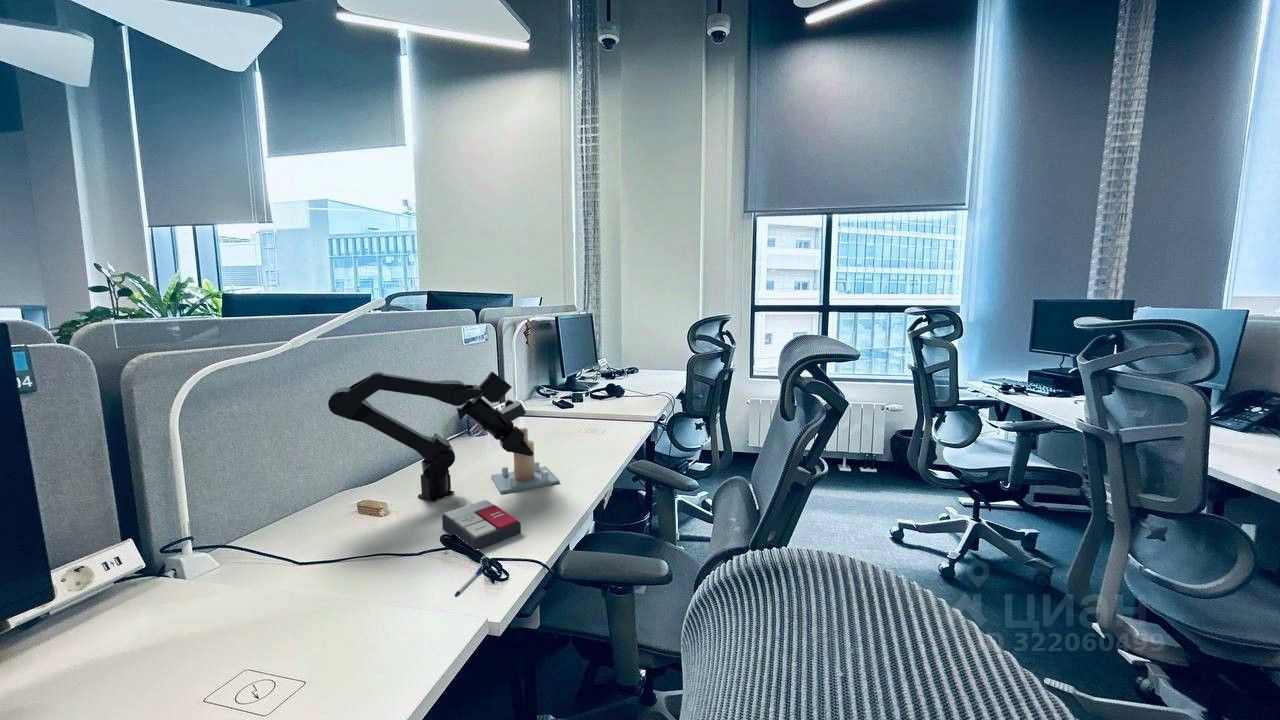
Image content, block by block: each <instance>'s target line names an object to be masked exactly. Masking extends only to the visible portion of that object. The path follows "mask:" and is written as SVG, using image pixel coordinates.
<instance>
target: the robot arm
mask: <svg viewBox="0 0 1280 720" xmlns="http://www.w3.org/2000/svg"><path fill="white" fill-rule="evenodd" d="M512 388H513V387H512V385H510V384H509V383H508V382H507V381H505V379H503V378H502V377H500V376H499V375H497V374H496V373H495V372H494V371H490V372H489V373H488V375H487V376H486V378H485V379H484V380H483V381H482V382H481V383H480V384H479V385H477V384H466V383H464V382H463V381H460V380H458V379H457V380H451V379H450V380H447V379H445V380H428V379H427V380H426V379H420V378H414V377H407V376H402V375H395V374H389V373H384V372H382V371H373V372H372V373H371V374H370V375H368V376H367V377H364V378H363V379H361V380H359V381H357V382H355V383H353V384H351V386H349V387H347V386H345V387H339V388H337V389H336V390H335V391H334V392H332V394H331V395H330V397H329V400H328V403H327V406H328V409H329V412H330V413H332V414H333V415H336V416H338V417H341V418H344V419H347V420H350V421H355V422H359V423H364V424H366V425H368V427H371V428H373V429H375V430H377V431H378V432H381V434H384V435H386V436H387V437H389V438H391V439H393V440H395V441H396V442H399V443H400V444H403V445H404V446H406V447H409V448H410V449H412V450H414V451H416V452H417V453H418V454H419V455H420V456H421V457H422V458H423V460H422V461H421V468H422V474H420V487H421V489H420V490H421V493H420V494H418V495H417V498H419V499H422V500H427V501H429V502H433V503H434V502H435V503H436V502H437V501H439V500H442V499H444V498H446V497H449V496H452V495H454V494H455V491H454V490H451V489H452V483H451V474H450V470H449V468H451V467H452V466H453V464H454V463H455V461H456V455H455V452H454V449H453V447H452V445H451V444H450V441H449V439H446V438H443V437H442V436H440V435H439V434H438V433H436V432H434V434H433V436H427V435H424V434H422V433H420V432H418V431H417V430H415V429H414V428H412V427H410V426H409V425H406V424H404V423H402V422H401V421H399V420H397V419H395V418H394V417H392V416H390V415H389V414H387V413H385V412H383V411H381V410H379V409H377V408H375V407H374V406H373V405H372V404H371V403H370V402H369V401H368V400H367V399H369V398H370V396H372V395H374V393H376V392H378V391H388V392H394V393H399V394H400V393H401V394H405V395H406V394H407V395H414V396H421V397H427V398H430V399H434V400H437V401H439V402H442V403H445V404H449V405H451V406H454V407H455V406H456V413H457V415H456V416H457V418H458V419H459V420H463V418H464V417H465V416H467V417H469V418H470V419H471V420H472V421H473V422H474V423H476V424H478V426H480V428H482V430H484V431H485V432H487V433H489V435H491V436H492V437H493V438H494V439H495V440H496V441H499V445H500V447H501V448H502V450H505V451H506V452H507V453H513V454H514V453H518V454H523V455H527V456H532V455H533V454H534V455H535V452H534V453H533V452H532V450H531V449H530V448H529V447H528V445H527V444H526V443H525V442H524V436H525V435H524V433H523V432H522V431H521V430H520V428H519V427H518V426H516V425H515V426H514V422H513V421H515V420H516V419H518V418H520V417H521V416H524V415H526V413H527V412H526V409H525V408H524V406H523V404H522V403H521V401H519V400H515V401H513V400H511V399H507V400H505V401H504V407H502V409H500V410H499V409H498V408H494V407H493V406H492V405H491V404H493V403H497V404H498V403H499V402H500V401H501V400H502V399H503V398H504V397H505V396H506V395H507V393H508V392H509V391H510V390H511V389H512ZM483 398H484V399H486V400H487V401H488V402H489V403H488V402H487V401H485V400H484V399H483ZM490 403H491V404H490Z"/></svg>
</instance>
